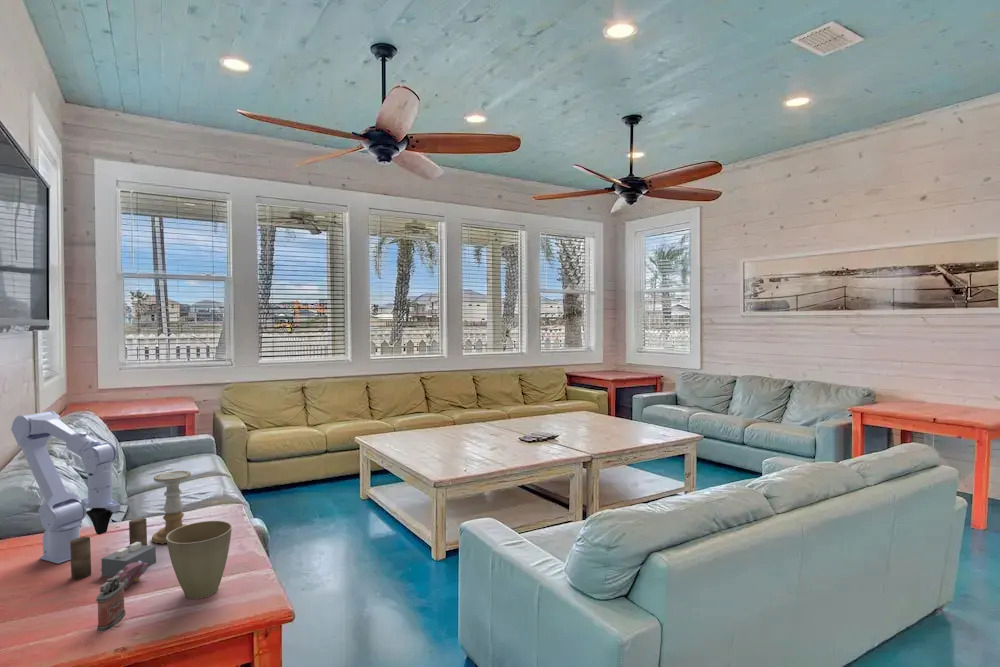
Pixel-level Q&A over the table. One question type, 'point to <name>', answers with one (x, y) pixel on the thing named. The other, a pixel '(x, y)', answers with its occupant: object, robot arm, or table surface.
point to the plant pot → (199, 556)
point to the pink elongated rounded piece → (132, 572)
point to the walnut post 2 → (138, 531)
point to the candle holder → (171, 503)
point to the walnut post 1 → (80, 558)
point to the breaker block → (128, 558)
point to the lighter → (110, 603)
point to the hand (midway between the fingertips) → (101, 533)
